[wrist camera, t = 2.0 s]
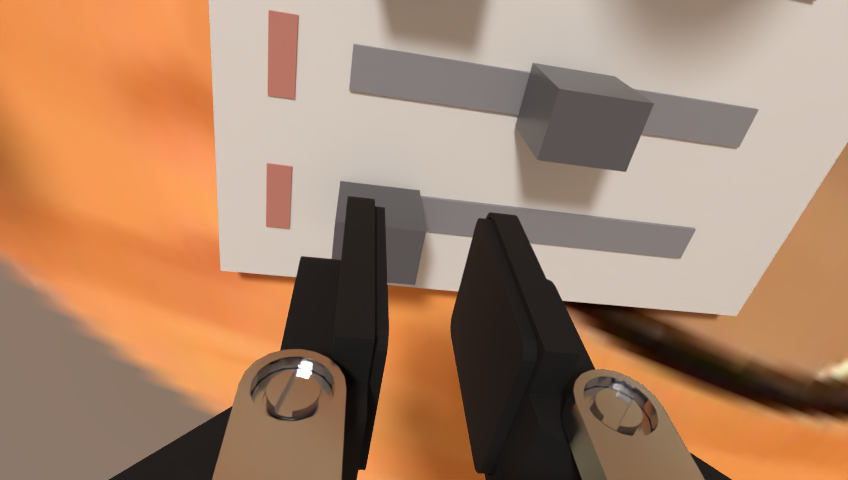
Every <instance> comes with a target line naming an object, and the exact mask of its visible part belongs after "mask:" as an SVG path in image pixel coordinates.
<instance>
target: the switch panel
mask: <svg viewBox="0 0 848 480" xmlns="http://www.w3.org/2000/svg"><path fill="white" fill-rule="evenodd" d="M209 16H210V39H211V62H212V84H213V107H214V130H215V152H216V175H217V197H218V220H219V243H220V265H221V271H232V272H243V273H254V274H266V275H277V276H288V277H296V276H297V271H298V266H299V262H300V258H301V256H306V257H316V258H327V259H338V260H341V255H342V245H343V236H344V226H345V217H346V207H347V198H348V196H352V197H361V198H370V199H375V206H377V207H385V225H386V256H387V285H390V286H402V287H413V288H425V289H436V290H447V291H459V287H460V283H461V279H462V276H463V272H464V268H465V264H466V260H467V256H468V253H469V249H470V245H471V241H472V237H473V233H474V230H475V226H476V223H477V220H478V219H479V218H484V219H486V217H487V215H488V213H490V212H492V213H501V214H510V215H517V217H518V218H519V220H520V223H521V225H522V227H523V229H524V231H525V233H526V236H527V238H528V240H529V242H530V244H531V246H532V248H533V251H534V253H535V255H536V257H537V259H538V261H539V264H540V266H541V268H542V270H543V272H544V274H545V277H546V279H548V280H551V281H552V282H553V283H554V285H555V286H556V288H557V290H558V293H559V295H560V297H561V299H562V301H572V302H583V303H595V304H606V305H617V306H629V307H640V308H651V309H663V310H674V311H686V312H697V313H708V314H720V315H731V316H737V314H738V312H739V311H740V309H741V308H742V306H743V305H744V303H745V301H746V300H747V298H748V297H749V295H750V294H751V292H752V291H753V289H754V287H755V286H756V284H757V283H758V281H759V280H760V278H761V276H762V275H763V273H764V272H765V270H766V269H767V267H768V266H769V264H770V262H771V261H772V259H773V258H774V256H775V255H776V253H777V252H778V250H779V248H780V247H781V245H782V244H783V242H784V241H785V239H786V237H787V236H788V234H789V233H790V231H791V230H792V228H793V227H794V225H795V223H796V222H797V220H798V219H799V217H800V216H801V214H802V212H803V211H804V209H805V208H806V206H807V205H808V203H809V202H810V200H811V198H812V197H813V195H814V194H815V192H816V191H817V189H818V187H819V186H820V184H821V183H822V181H823V180H824V178H825V177H826V175H827V173H828V172H829V170H830V169H831V167H832V166H833V164H834V162H835V161H836V159H837V158H838V156H839V155H840V153H841V152H842V150H843V148H844V147H845V145H846V144H847V142H848V0H209ZM533 63H537V64H543V65H549V66H555V67H561V68H568V69H574V70H580V71H586V72H592V73H598V74H604V75H610V76H615V77H617V78H618V79H619V80H621V81H622V82H624V83H625V84H627V85H628V86H630V87H631V88H632V89H634V90H635V91H637V92H638V93H640V94H641V95H642V96H644V97H645V98H647V99H648V100H650V101H651V102H652V103H654V105H653V108H652V110H651V113H650V115H649V117H648V120H647V122H646V125H645V127H644V129H643V132H642V134H641V137H640V139H639V142H638V144H637V146H636V149H635V151H634V154H633V156H632V158H631V161H630V163H629V166H628V168H627V171H626V172H622V171H614V170H607V169H599V168H592V167H584V166H577V165H569V164H562V163H554V162H547V161H539V160H537V159H536V158H535V156H534V154H533V153H532V151H531V150H530V148H529V147H528V145H527V144H526V142H525V141H524V139H523V137H522V136H521V134H520V133H519V131H518V130H517V128H516V127H515V125H516V122H517V118H518V114H519V111H520V107H521V104H522V100H523V96H524V93H525V89H526V86H527V82H528V78H529V75H530V71H531V67H532V64H533Z"/></svg>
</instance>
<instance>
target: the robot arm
mask: <svg viewBox="0 0 848 480" xmlns="http://www.w3.org/2000/svg"><path fill="white" fill-rule="evenodd" d="M388 336H389V318H388V287H387V256H386V225H385V207H377V206H375V199H370V198H361V197H352V196H348V198H347V207H346V217H345V226H344V236H343V245H342V255H341V260H338V259H327V258H316V257H306V256H301V258H300V262H299V266H298V271H297V276H296V280H295V285H294V290H293V294H292V299H291V303H290V308H289V313H288V317H287V322H286V327H285V331H284V336H283V341H282V345H281V350H280V351H278V352H274V353H270V354H268V355H266V356H264V357H262V358H261V359H259V360H257V361H255V362H254V363H253V364H252V365H251V366H250V367H249V368H248V369H247V370H246V371H245V373H244V375H243V377H242V379H241V381H240V383H239V385H238V389H237V393H236V396H235V400H234V403H233V406H232V407H230V408H228V409H227V410H225V411H223V412H222V413H220V414H218V415H217V416H215V417H213V418H212V419H210V420H208V421H207V422H205V423H203V424H202V425H200V426H198V427H196V428H195V429H193V430H191V431H190V432H188V433H187V434H185V435H183V436H181V437H180V438H178V439H176V440H175V441H173V442H171V443H170V444H168V445H166V446H165V447H163V448H161V449H160V450H158V451H156V452H155V453H153V454H151V455H149V456H148V457H146V458H144V459H143V460H141V461H139V462H138V463H136V464H134V465H133V466H131V467H129V468H128V469H126V470H124V471H123V472H121V473H119V474H118V475H116V476H114V477H113V478H111V479H109V480H356V479H357V474H358V470H365V469H366V464H367V459H368V454H369V448H370V443H371V437H372V432H373V426H374V421H375V415H376V410H377V405H378V399H379V394H380V388H381V383H382V377H383V372H384V366H385V361H386V355H387V348H388ZM451 337H452V343H453V349H454V354H455V360H456V366H457V371H458V377H459V382H460V388H461V394H462V399H463V405H464V411H465V416H466V422H467V427H468V433H469V439H470V444H471V450H472V456H473V461H474V466H475V470H476V472H477V473H485V478H486V480H731V479H730V478H728V477H727V476H725V475H724V474H722V473H721V472H719V471H718V470H716V469H714V468H713V467H711V466H710V465H708V464H707V463H705V462H704V461H702V460H701V459H699V458H698V457H696V456H695V455H693V454H691V453H690V452H689V451H688V449H687V447H686V446H685V444H684V442H683V440H682V439H681V437H680V435H679V433H678V432H677V430H676V428H675V426H674V425H673V423H672V421H671V419H670V418H669V416H668V414H667V412H666V411H665V409H664V407H663V406H662V405H661V403H660V402H659V401H658V399H657V398H656V396H655V395H654V394H652V393H651V392H650V391H649V390H648V389H647V388H646V387H645V386H644V385H642V384H640V383H639V382H637V381H636V380H634V379H632V378H631V377H628V376H626V375H623V374H621V373H618V372H615V371H610V370H605V369H597V370H595V368H594V366H593V364H592V362H591V360H590V357H589V355H588V353H587V351H586V349H585V347H584V345H583V343H582V341H581V339H580V336H579V334H578V332H577V330H576V328H575V326H574V324H573V322H572V320H571V318H570V316H569V313H568V311H567V309H566V307H565V305H564V303H563V301H562V299H561V297H560V295H559V293H558V290H557V288H556V286H555V285H554V283H553V282H552V281H551V280H548V279H546V277H545V274H544V272H543V270H542V268H541V266H540V264H539V261H538V259H537V257H536V255H535V253H534V251H533V248H532V246H531V244H530V242H529V240H528V238H527V236H526V233H525V231H524V229H523V227H522V225H521V223H520V220H519V218H518V217H517V215H510V214H501V213H492V212H490V213H488V215H487V217H486V219H484V218H479V219H478V220H477V223H476V226H475V230H474V233H473V237H472V241H471V245H470V249H469V253H468V256H467V260H466V264H465V268H464V272H463V276H462V279H461V283H460V287H459V291H458V295H457V298H456V302H455V306H454V310H453V314H452V318H451Z"/></svg>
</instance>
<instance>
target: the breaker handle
mask: <svg viewBox="0 0 848 480" xmlns="http://www.w3.org/2000/svg"><path fill="white" fill-rule="evenodd" d="M653 105H654V103H652V102H651V101H650V100H648V99H647V98H645V97H644V96H642V95H641V94H640V93H638V92H637V91H635V90H634V89H632V88H631V87H630V86H628V85H627V84H625V83H624V82H622V81H621V80H619V79H618V78H617V77H615V76H610V75H604V74H598V73H592V72H586V71H580V70H574V69H568V68H561V67H555V66H549V65H543V64H537V63H533V64H532V67H531V71H530V75H529V78H528V82H527V86H526V89H525V93H524V96H523V100H522V104H521V107H520V111H519V114H518V118H517V122H516V125H515V127H516V128H517V130H518V131H519V133H520V134H521V136H522V137H523V139H524V141H525V142H526V144H527V145H528V147H529V148H530V150H531V151H532V153H533V154H534V156H535V158H536V159H537V160H539V161H547V162H554V163H562V164H569V165H577V166H584V167H592V168H599V169H607V170H614V171H622V172H626V171H627V168H628V166H629V163H630V161H631V158H632V156H633V154H634V151H635V149H636V146H637V144H638V142H639V139H640V137H641V134H642V132H643V129H644V127H645V125H646V122H647V120H648V117H649V115H650V113H651V110H652V108H653Z"/></svg>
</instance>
